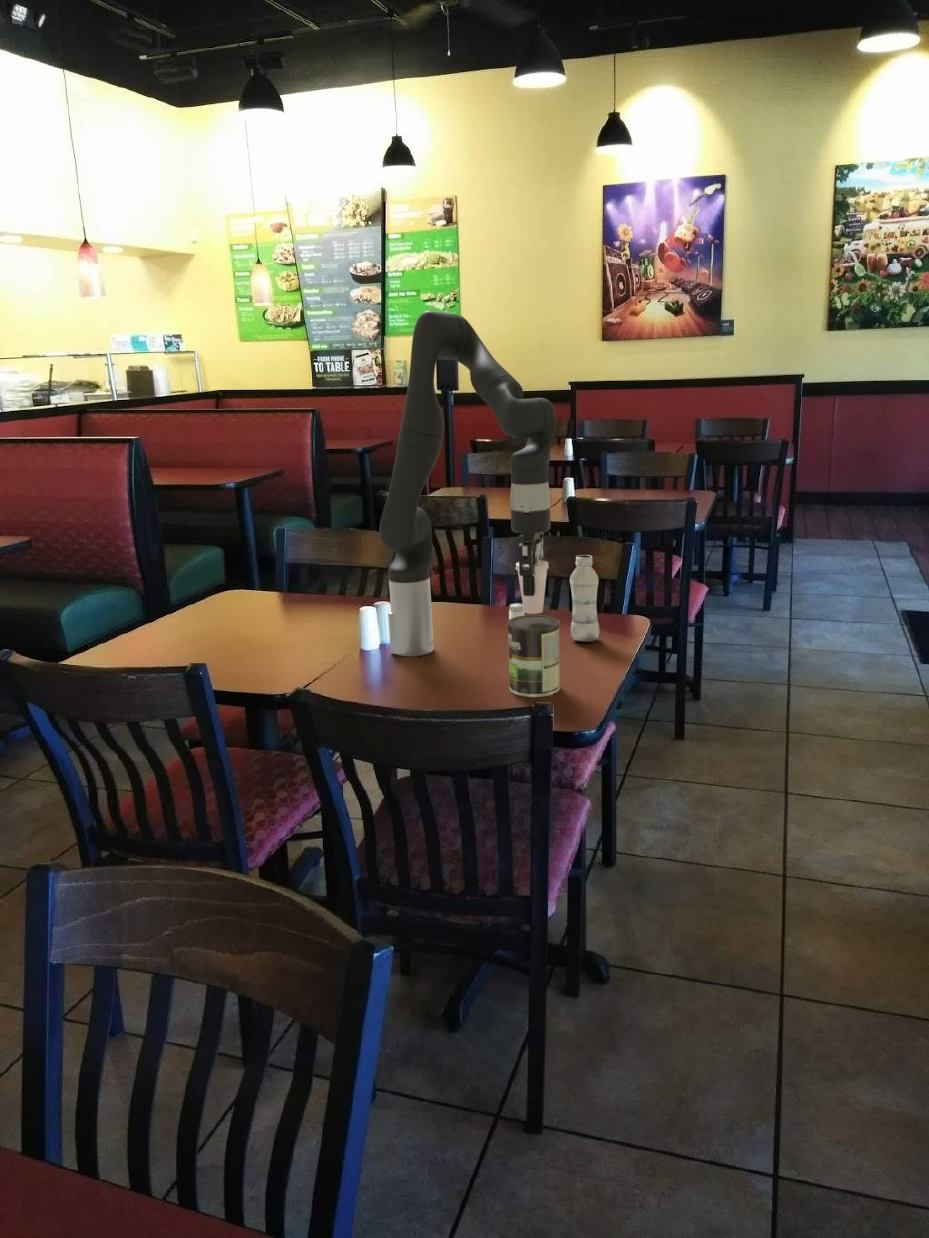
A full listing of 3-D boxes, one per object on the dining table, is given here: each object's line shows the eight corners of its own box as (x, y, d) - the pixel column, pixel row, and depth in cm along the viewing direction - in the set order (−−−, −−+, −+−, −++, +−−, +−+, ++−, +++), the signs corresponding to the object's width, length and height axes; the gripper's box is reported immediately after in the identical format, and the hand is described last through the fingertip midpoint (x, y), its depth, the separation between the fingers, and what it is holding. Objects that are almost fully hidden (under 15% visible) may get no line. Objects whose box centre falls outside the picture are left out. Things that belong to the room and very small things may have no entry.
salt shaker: (508, 640, 220) (507, 607, 218) (511, 636, 223) (510, 603, 221) (523, 641, 219) (522, 607, 217) (526, 636, 222) (525, 603, 220)
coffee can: (517, 700, 182) (515, 631, 178) (503, 683, 192) (500, 617, 188) (567, 694, 184) (566, 625, 180) (550, 677, 194) (549, 612, 190)
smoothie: (547, 615, 180) (546, 544, 176) (514, 615, 181) (512, 544, 177) (551, 607, 186) (549, 537, 182) (519, 606, 187) (517, 538, 183)
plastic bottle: (592, 646, 213) (591, 560, 207) (565, 642, 216) (564, 558, 211) (604, 638, 218) (603, 555, 212) (577, 635, 221) (576, 552, 216)
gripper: (518, 500, 185) (520, 581, 190) (503, 512, 172) (506, 600, 177) (555, 500, 184) (556, 582, 188) (543, 512, 170) (545, 601, 175)
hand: (532, 590), depth 182 cm, fingers closed on smoothie, 6 cm apart
